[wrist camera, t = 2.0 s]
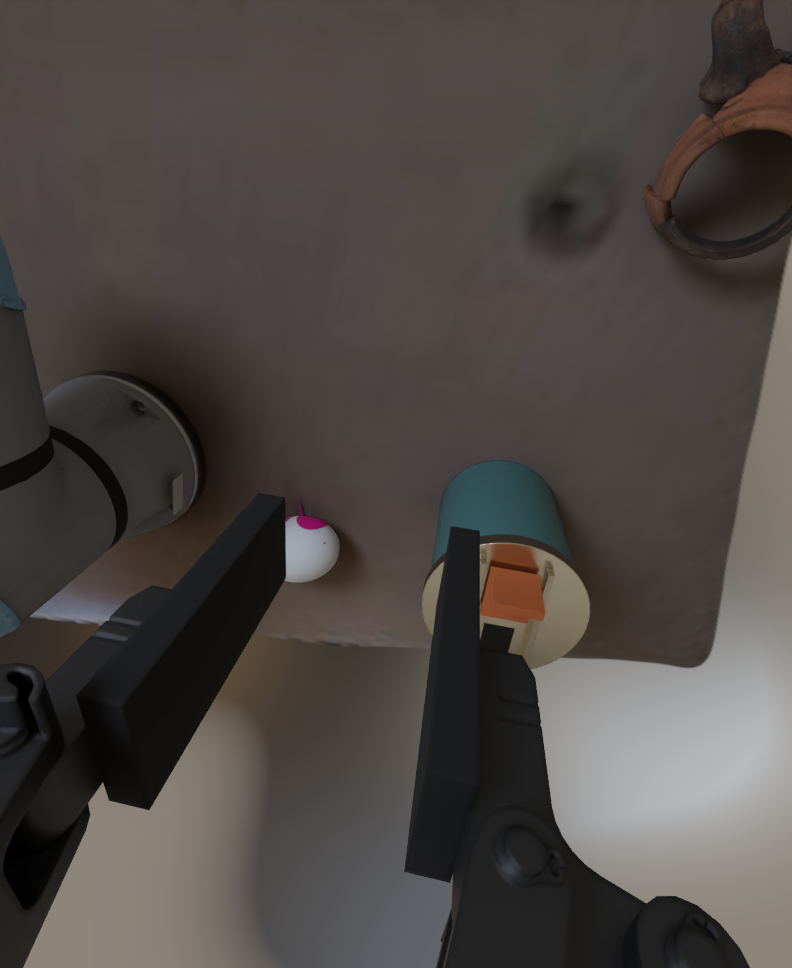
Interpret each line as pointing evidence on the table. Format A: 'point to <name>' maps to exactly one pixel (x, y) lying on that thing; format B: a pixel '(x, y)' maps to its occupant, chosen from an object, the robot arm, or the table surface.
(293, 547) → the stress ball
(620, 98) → the table surface
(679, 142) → the pottery mug
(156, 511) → the robot arm
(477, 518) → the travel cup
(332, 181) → the table surface
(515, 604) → the slider
